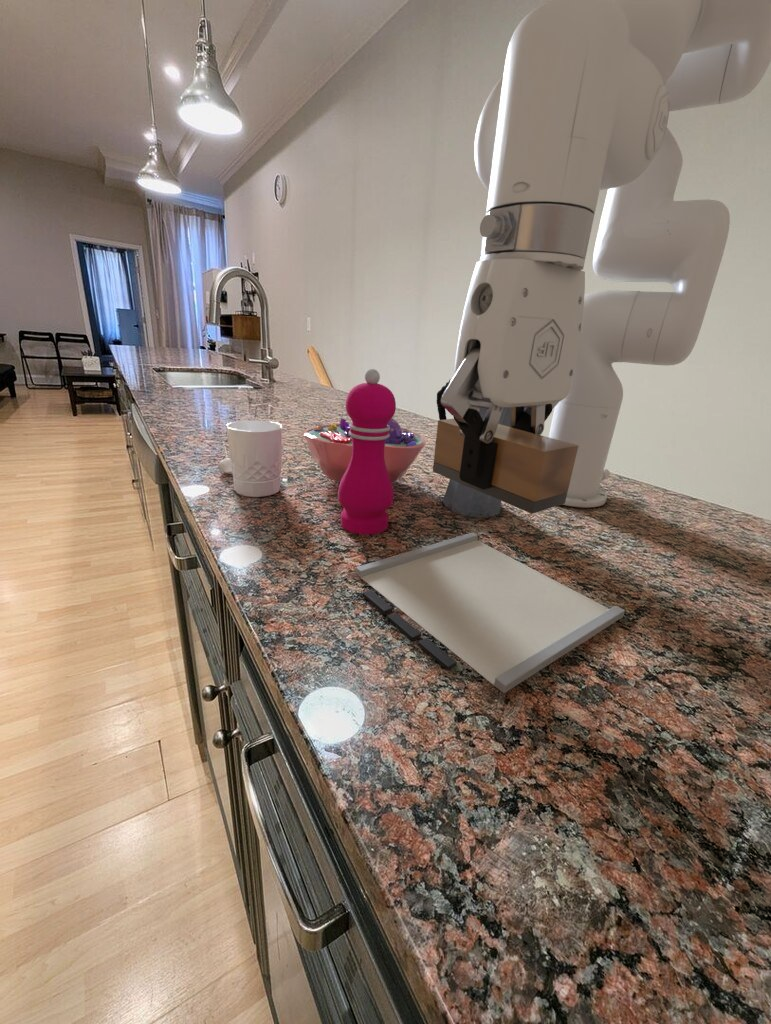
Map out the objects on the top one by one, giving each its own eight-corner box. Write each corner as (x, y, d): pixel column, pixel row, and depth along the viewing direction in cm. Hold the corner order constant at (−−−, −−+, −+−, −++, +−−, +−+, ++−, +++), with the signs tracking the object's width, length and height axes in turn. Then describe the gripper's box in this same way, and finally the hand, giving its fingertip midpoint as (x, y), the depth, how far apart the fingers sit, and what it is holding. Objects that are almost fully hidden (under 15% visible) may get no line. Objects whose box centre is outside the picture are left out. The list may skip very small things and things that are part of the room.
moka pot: (507, 531, 61) (536, 379, 53) (409, 503, 68) (422, 366, 60) (527, 511, 68) (555, 375, 61) (437, 487, 76) (451, 364, 68)
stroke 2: (386, 622, 40) (387, 615, 40) (395, 618, 41) (395, 612, 41) (412, 644, 38) (412, 637, 38) (420, 640, 38) (421, 633, 38)
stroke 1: (362, 598, 44) (362, 592, 43) (370, 595, 44) (371, 589, 44) (384, 617, 41) (384, 611, 41) (392, 614, 42) (393, 607, 41)
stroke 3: (416, 648, 37) (417, 641, 37) (425, 643, 38) (426, 637, 38) (447, 673, 35) (448, 666, 35) (456, 669, 35) (457, 662, 35)
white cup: (237, 480, 72) (233, 418, 68) (286, 482, 73) (285, 421, 69) (225, 498, 65) (220, 430, 61) (280, 499, 66) (278, 432, 62)
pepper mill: (385, 541, 55) (397, 374, 48) (329, 533, 57) (333, 368, 49) (395, 519, 62) (408, 369, 54) (345, 512, 63) (351, 364, 56)
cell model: (319, 462, 85) (320, 402, 80) (424, 473, 83) (431, 412, 78) (289, 491, 69) (288, 418, 65) (417, 506, 67) (425, 432, 63)
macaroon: (247, 470, 77) (246, 456, 76) (240, 479, 73) (239, 464, 72) (222, 469, 77) (221, 455, 76) (213, 478, 73) (212, 463, 72)
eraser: (465, 465, 46) (471, 416, 44) (565, 503, 37) (579, 445, 35) (432, 471, 43) (437, 420, 41) (531, 514, 35) (544, 451, 33)
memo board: (471, 538, 58) (472, 532, 57) (622, 618, 43) (625, 610, 43) (355, 575, 47) (355, 567, 47) (503, 696, 33) (505, 685, 33)
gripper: (497, 218, 25) (457, 512, 33) (639, 257, 35) (584, 478, 42) (413, 232, 31) (394, 481, 38) (556, 263, 40) (520, 457, 48)
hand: (495, 477), depth 40 cm, fingers closed on eraser, 4 cm apart
